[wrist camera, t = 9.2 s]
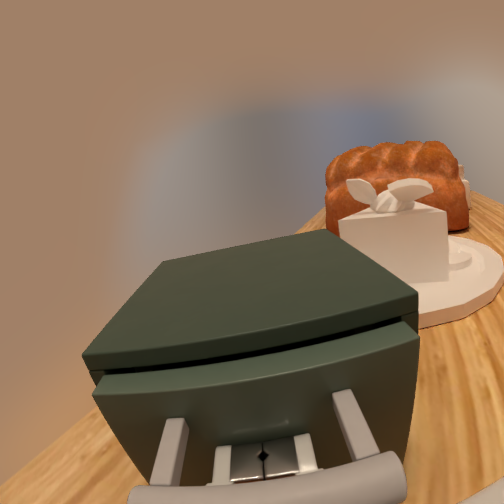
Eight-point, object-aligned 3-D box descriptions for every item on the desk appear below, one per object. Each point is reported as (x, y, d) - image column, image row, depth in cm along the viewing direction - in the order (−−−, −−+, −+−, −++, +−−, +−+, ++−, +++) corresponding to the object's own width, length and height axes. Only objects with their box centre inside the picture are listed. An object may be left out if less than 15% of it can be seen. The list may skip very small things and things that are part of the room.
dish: (531, 322, 16) (539, 172, 14) (253, 325, 29) (226, 204, 26) (480, 238, 37) (474, 160, 34) (326, 248, 49) (314, 177, 47)
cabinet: (402, 459, 11) (419, 291, 9) (167, 498, 11) (80, 354, 9) (339, 341, 23) (325, 228, 21) (195, 368, 23) (162, 261, 21)
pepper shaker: (458, 211, 55) (453, 166, 53) (449, 209, 59) (444, 166, 57) (472, 209, 54) (467, 164, 52) (463, 206, 58) (458, 164, 56)
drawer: (433, 541, 6) (502, 421, 4) (156, 581, 6) (35, 487, 4) (338, 348, 21) (327, 249, 19) (196, 374, 21) (166, 281, 19)
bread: (472, 233, 40) (462, 132, 36) (321, 241, 54) (305, 152, 51) (464, 216, 51) (455, 136, 47) (342, 223, 65) (330, 151, 62)
